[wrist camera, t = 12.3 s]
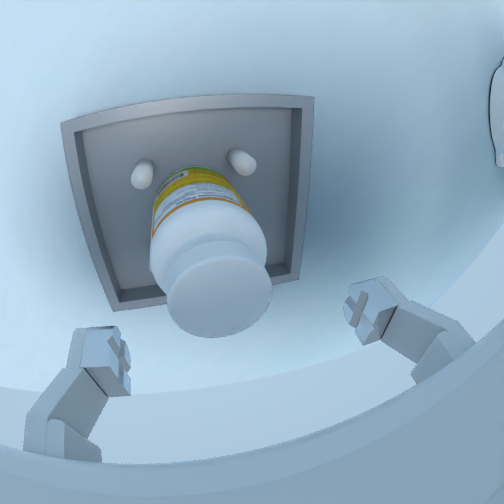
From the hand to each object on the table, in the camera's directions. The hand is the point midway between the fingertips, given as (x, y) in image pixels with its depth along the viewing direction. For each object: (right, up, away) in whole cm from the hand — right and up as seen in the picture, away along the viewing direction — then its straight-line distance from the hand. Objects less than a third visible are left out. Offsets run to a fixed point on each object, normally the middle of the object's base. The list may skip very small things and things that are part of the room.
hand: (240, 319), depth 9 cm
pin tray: (-4, +6, +10) cm, 12 cm away
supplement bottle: (-4, +6, +9) cm, 11 cm away
